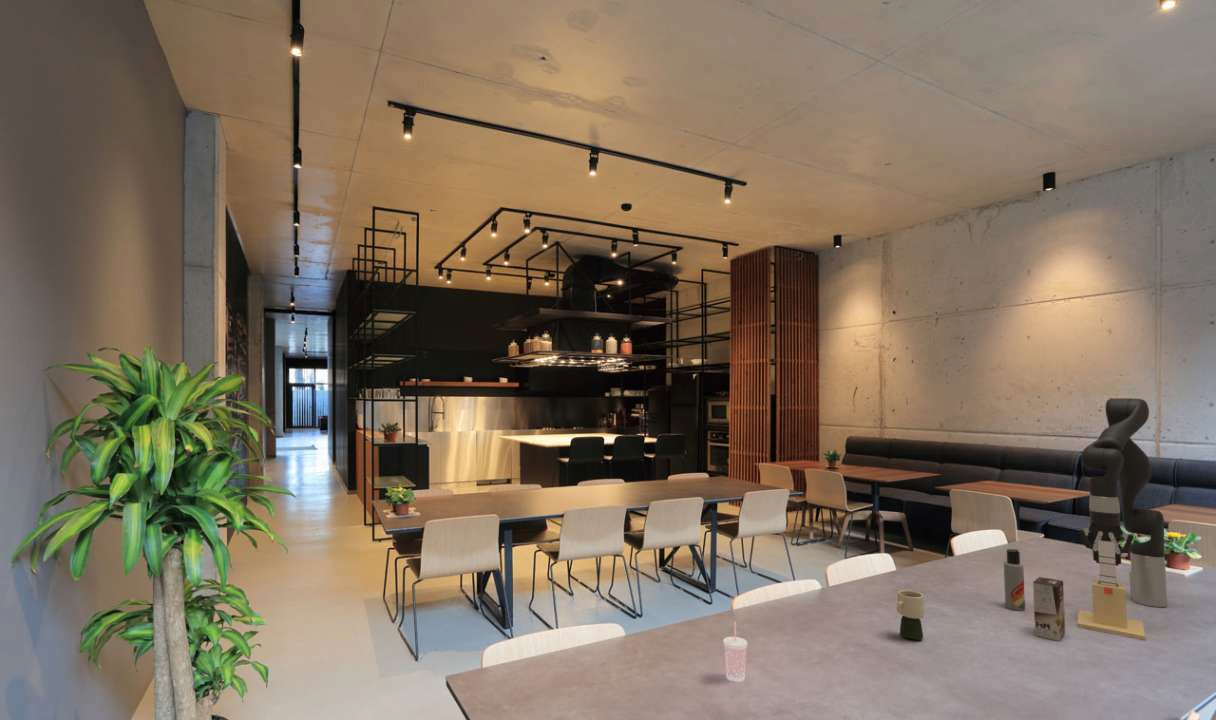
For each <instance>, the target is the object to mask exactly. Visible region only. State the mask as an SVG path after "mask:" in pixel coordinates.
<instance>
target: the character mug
mask: <svg viewBox="0 0 1216 720" xmlns="http://www.w3.org/2000/svg"><path fill="white" fill-rule="evenodd" d="M924 597H925V596H924V594H923V593H921V592H918V591H914V590H908V589H907V590H906V589H901V590H897V597H896V598H897V599H896V600H897V601H896V611H897V613H899V615H900V616H901V619H900V628H899V635H900V636H901V637H905V638H907V639H911V640H923V639H924V633H923V626H922V621H921V619H922V618H924V616H925V600H924Z"/></svg>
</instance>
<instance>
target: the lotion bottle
mask: <svg viewBox="0 0 1216 720" xmlns="http://www.w3.org/2000/svg"><path fill="white" fill-rule="evenodd" d="M1020 554H1021V552H1020V551H1019V549H1016V548H1013V549H1012V548H1008V549H1006V561H1004V562H1003V577H1004V581H1003V582H1004V583H1003V585H1004V598H1005V599H1004V605H1005V608H1007V609H1009V610H1013V611H1017V612H1018V611H1019V612H1022V611H1025V610H1026V599H1025V597H1026V596H1025V593H1026V592H1025V573H1024V570H1025V569H1024V565H1023V564H1022V563H1021V555H1020Z"/></svg>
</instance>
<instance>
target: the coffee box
mask: <svg viewBox="0 0 1216 720" xmlns="http://www.w3.org/2000/svg"><path fill="white" fill-rule="evenodd" d="M1032 583H1033V585H1032V586H1033V588H1032V589H1033V612H1034V614H1033V615H1034V617H1033V618H1034V635H1035V636H1037V637H1040V638H1046V639H1049V640H1053V641H1057V642H1060V641H1061V640H1062V638H1063V637H1064V636H1065V635H1066V621H1065V600H1064V598H1065V596H1064V595H1065V593H1064V592H1065V591H1064V580H1059V579H1054V578H1049V577H1042V576H1039V577H1038V578H1037V579H1035V580H1034V581H1032Z"/></svg>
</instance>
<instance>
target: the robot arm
mask: <svg viewBox="0 0 1216 720" xmlns="http://www.w3.org/2000/svg"><path fill="white" fill-rule="evenodd" d="M1105 415H1106V420H1107V424H1108V426H1107V427H1106V428H1105V429H1104V430H1103V431H1102V432H1101V433H1100V435H1099V437H1098V439H1096V440H1095V441H1093V442H1092V443H1090V444H1089V445H1087V446H1086V447H1085V448H1084V449H1083V450H1082V452H1081V455H1080V461H1081V464H1082V465H1083V466H1084V467H1085V468H1087V469H1091V470H1100V471H1107V473H1106V474H1105V475H1102V476H1093V477H1091V478H1090V479H1089V481H1088V483H1089V484H1088V485H1089V500H1088V501H1089V506H1088V507H1089V521H1090V525H1089V527H1088V528H1087V527H1086V528H1080V529H1079V534H1080V537H1081V539H1082V541H1083V544H1084V545H1085V548H1086V549H1089V550H1091V551H1092V555H1093V556H1092V558H1093V561H1095V563H1096V564H1099V549H1098V540H1104V541H1111V542H1114V545H1115V562H1116V566H1117V567H1119V565H1121V564H1122V554H1127V553H1128V552H1130V553H1129V556H1130V572H1129V586H1130V587H1129V588H1130V599H1132V601H1133V602H1135V603H1136V604H1141V605H1144V606H1149V607H1154V608H1155V607H1156V608H1166V607H1168V596H1167V595H1168V594H1167V593H1168V592H1167V577H1166V576H1167V574H1166V573H1167V572H1166V559H1165V518H1164V515H1163V513H1162V512H1161V511H1159V510H1156V509H1148V508H1147V509H1146V508H1139V507H1136V505H1135V502H1136V499H1137V498H1138V495H1139V494H1140V493H1141V491H1142V490H1143V489H1144V488H1145V486H1146V485H1147V484H1148V483H1149V482H1150V479H1151V477H1152V472H1151V466H1150V460H1149V457H1148V455H1147V454H1146V452H1144V451H1143V450H1142V448H1141V447H1140V446H1138V444H1137V443H1135V442H1134V440H1132V439H1131V438H1132V437H1133V435H1134V434H1136V433H1137V432H1138V431H1139V430H1140V429H1141V428H1142V427H1143V426H1144V425H1145V424H1146V422H1147V421H1148V420H1149V415H1150V409H1149V404H1148V403H1147V401H1146V400H1144V399H1142V398H1130V397H1129V398H1128V397H1127V398H1121V397H1119V398H1108V399H1107V401H1106V403H1105ZM1118 485H1119V487H1118ZM1118 488H1119V489H1118ZM1118 490H1120V491H1118ZM1119 492H1120V498H1121V499H1120V500H1121V501H1120V502H1121V507H1120V502H1119ZM1121 512H1122V513H1121ZM1121 514H1122V515H1121ZM1121 516H1122V523H1123V527H1124V529H1125V530H1126V532H1128V533H1126V532H1124V531H1123V529H1122V528H1121V527H1122V526H1121ZM1089 532H1090V533H1091V535H1092V536H1093V537H1094V542H1093V544H1091V543H1090V541H1089V539H1088V537H1087V536H1088V535H1089ZM1133 534H1136V535H1144V536H1150V538H1149V540H1146V541H1142V542H1136V543H1135V542H1134V543H1133V539H1134V535H1133ZM1121 537H1123V539H1124V541H1125V542H1124V545H1123V547H1121V548H1120V546H1119V544H1118V540H1119V539H1120V538H1121Z"/></svg>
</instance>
